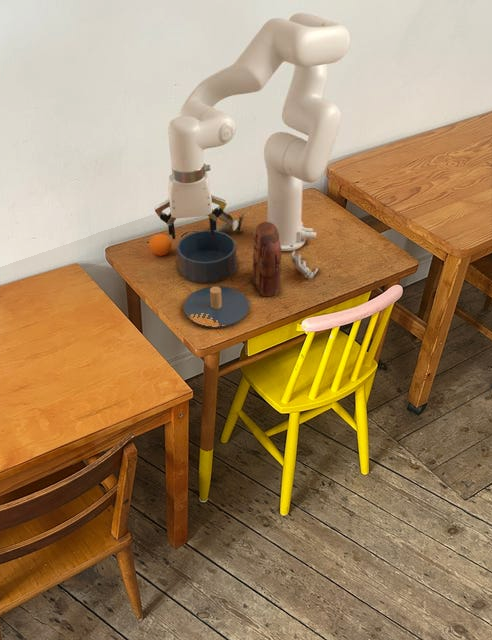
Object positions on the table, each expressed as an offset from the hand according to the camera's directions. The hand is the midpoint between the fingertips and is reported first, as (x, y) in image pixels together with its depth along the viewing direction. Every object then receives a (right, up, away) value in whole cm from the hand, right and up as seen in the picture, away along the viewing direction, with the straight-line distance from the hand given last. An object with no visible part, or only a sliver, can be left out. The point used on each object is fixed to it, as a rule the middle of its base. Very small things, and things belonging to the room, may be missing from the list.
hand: (192, 234), depth 183 cm
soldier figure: (+28, -7, +17) cm, 34 cm away
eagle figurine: (+7, +6, +32) cm, 33 cm away
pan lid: (+6, -18, +5) cm, 19 cm away
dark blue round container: (+2, -5, +19) cm, 20 cm away
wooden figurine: (+18, -11, +13) cm, 25 cm away
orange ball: (-11, +1, +21) cm, 24 cm away
